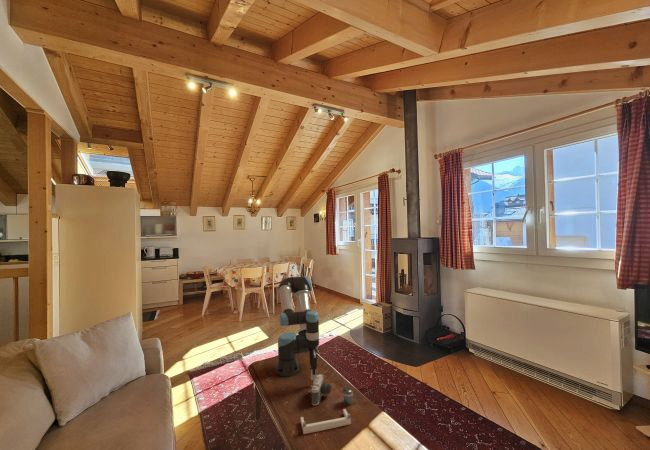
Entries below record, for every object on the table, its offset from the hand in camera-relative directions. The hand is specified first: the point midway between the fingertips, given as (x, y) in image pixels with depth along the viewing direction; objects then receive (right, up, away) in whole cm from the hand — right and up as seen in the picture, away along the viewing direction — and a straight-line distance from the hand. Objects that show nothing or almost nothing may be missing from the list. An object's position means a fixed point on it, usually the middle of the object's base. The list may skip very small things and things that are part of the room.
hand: (313, 379), depth 165 cm
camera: (+5, -4, -12) cm, 13 cm away
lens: (+19, -3, -18) cm, 26 cm away
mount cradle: (+7, -3, -32) cm, 33 cm away
